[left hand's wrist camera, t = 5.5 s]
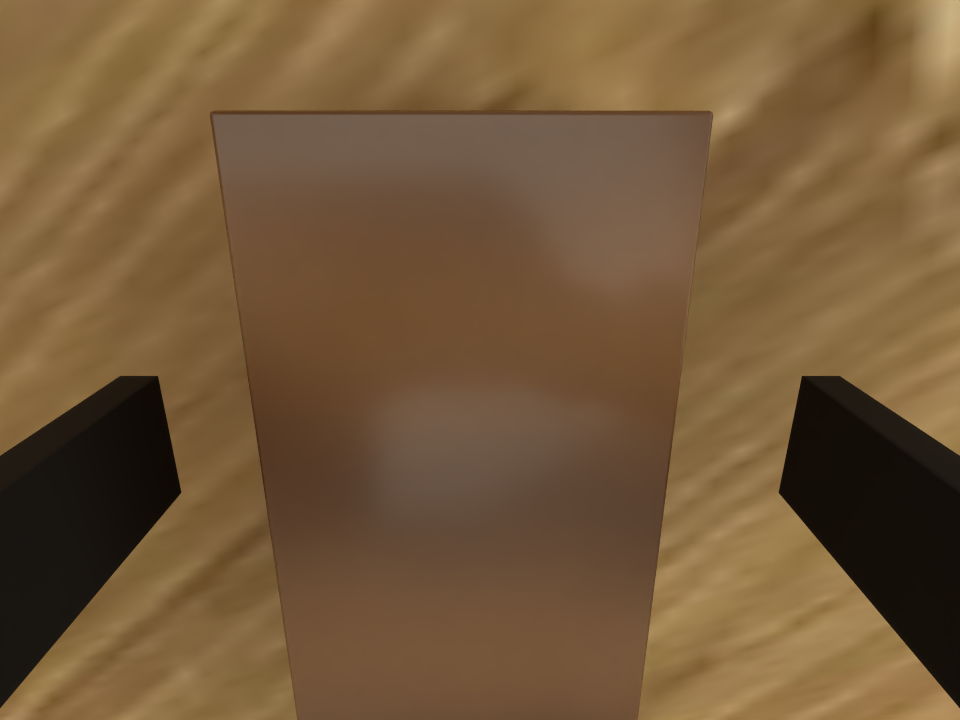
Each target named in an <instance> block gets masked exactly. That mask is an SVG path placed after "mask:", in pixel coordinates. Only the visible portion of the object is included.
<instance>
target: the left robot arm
mask: <svg viewBox="0 0 960 720" xmlns="http://www.w3.org/2000/svg"><path fill="white" fill-rule="evenodd" d="M180 494H181V489H180V484H179V479H178V474H177V469H176V464H175V459H174V454H173V449H172V444H171V439H170V434H169V429H168V424H167V419H166V414H165V409H164V404H163V399H162V394H161V389H160V384H159V379H158V376H120V377H118V378H117V379H115V380H114V381H112V382H111V383H109V384H108V385H106V386H105V387H103V388H102V389H100V390H99V391H97V392H96V393H94V394H93V395H91V396H90V397H88V398H87V399H85V400H84V401H82V402H81V403H79V404H78V405H76V406H75V407H73V408H72V409H70V410H69V411H67V412H66V413H64V414H63V415H61V416H60V417H58V418H57V419H55V420H54V421H52V422H50V423H49V424H47V425H46V426H44V427H43V428H41V429H40V430H38V431H37V432H35V433H34V434H32V435H31V436H29V437H28V438H26V439H25V440H23V441H22V442H20V443H19V444H17V445H16V446H14V447H13V448H11V449H10V450H8V451H7V452H5V453H4V454H2V455H1V456H0V708H1V707H2V705H3V704H4V703H5V702H6V701H7V699H8V698H9V697H10V696H11V695H12V693H13V692H14V691H15V690H16V689H17V688H18V686H19V685H20V684H21V683H22V682H23V680H24V679H25V678H26V677H27V676H28V674H29V673H30V672H31V671H32V670H33V668H34V667H35V666H36V665H37V664H38V663H39V661H40V660H41V659H42V658H43V657H44V655H45V654H46V653H47V652H48V651H49V649H50V648H51V647H52V646H53V645H54V643H55V642H56V641H57V640H58V639H59V638H60V636H61V635H62V634H63V633H64V632H65V630H66V629H67V628H68V627H69V626H70V624H71V623H72V622H73V621H74V620H75V619H76V617H77V616H78V615H79V614H80V613H81V611H82V610H83V609H84V608H85V607H86V605H87V604H88V603H89V602H90V601H91V599H92V598H93V597H94V596H95V595H96V594H97V592H98V591H99V590H100V589H101V588H102V586H103V585H104V584H105V583H106V582H107V580H108V579H109V578H110V577H111V576H112V574H113V573H114V572H115V571H116V570H117V569H118V567H119V566H120V565H121V564H122V563H123V561H124V560H125V559H126V558H127V557H128V555H129V554H130V553H131V552H132V551H133V549H134V548H135V547H136V546H137V545H138V544H139V542H140V541H141V540H142V539H143V538H144V536H145V535H146V534H147V533H148V532H149V530H150V529H151V528H152V527H153V526H154V524H155V523H156V522H157V521H158V520H159V519H160V517H161V516H162V515H163V514H164V513H165V511H166V510H167V509H168V508H169V507H170V505H171V504H172V503H173V502H174V501H175V500H176V498H177V497H178V496H179V495H180ZM779 494H780V495H781V496H782V497H783V498H784V500H785V501H786V502H787V503H788V504H789V505H790V507H791V508H792V509H793V510H794V511H795V513H796V514H797V515H798V516H799V517H800V519H801V520H802V521H803V522H804V523H805V524H806V526H807V527H808V528H809V529H810V530H811V532H812V533H813V534H814V535H815V536H816V538H817V539H818V540H819V541H820V542H821V544H822V545H823V546H824V547H825V548H826V549H827V551H828V552H829V553H830V554H831V555H832V557H833V558H834V559H835V560H836V561H837V563H838V564H839V565H840V566H841V567H842V569H843V570H844V571H845V572H846V573H847V574H848V576H849V577H850V578H851V579H852V580H853V582H854V583H855V584H856V585H857V586H858V588H859V589H860V590H861V591H862V592H863V594H864V595H865V596H866V597H867V598H868V599H869V601H870V602H871V603H872V604H873V605H874V607H875V608H876V609H877V610H878V611H879V613H880V614H881V615H882V616H883V617H884V619H885V620H886V621H887V622H888V623H889V624H890V626H891V627H892V628H893V629H894V630H895V632H896V633H897V634H898V635H899V636H900V638H901V639H902V640H903V641H904V642H905V643H906V645H907V646H908V647H909V648H910V649H911V651H912V652H913V653H914V654H915V655H916V657H917V658H918V659H919V660H920V661H921V663H922V664H923V665H924V666H925V667H926V668H927V670H928V671H929V672H930V673H931V674H932V676H933V677H934V678H935V679H936V680H937V682H938V683H939V684H940V685H941V686H942V688H943V689H944V690H945V691H946V692H947V693H948V695H949V696H950V697H951V698H952V699H953V701H954V702H955V703H956V704H957V705H958V707H959V708H960V456H959V455H958V454H956V453H955V452H953V451H952V450H950V449H949V448H947V447H946V446H944V445H943V444H941V443H940V442H938V441H937V440H935V439H934V438H932V437H931V436H929V435H928V434H926V433H925V432H923V431H922V430H920V429H919V428H917V427H916V426H914V425H913V424H911V423H910V422H908V421H907V420H905V419H903V418H902V417H900V416H899V415H897V414H896V413H894V412H893V411H891V410H890V409H888V408H887V407H885V406H884V405H882V404H881V403H879V402H878V401H876V400H875V399H873V398H872V397H870V396H869V395H867V394H866V393H864V392H863V391H861V390H860V389H858V388H857V387H855V386H854V385H852V384H851V383H849V382H848V381H846V380H845V379H843V378H842V377H840V376H802V379H801V384H800V389H799V394H798V399H797V404H796V409H795V414H794V419H793V424H792V429H791V434H790V439H789V444H788V449H787V454H786V459H785V464H784V469H783V474H782V479H781V484H780V489H779Z"/></svg>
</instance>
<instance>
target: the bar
mask: <svg viewBox="0 0 960 720" xmlns="http://www.w3.org/2000/svg"><path fill="white" fill-rule="evenodd" d="M210 118H211V125H212V132H213V139H214V146H215V153H216V160H217V166H218V173H219V180H220V187H221V194H222V201H223V208H224V215H225V222H226V229H227V236H228V242H229V249H230V256H231V263H232V270H233V277H234V284H235V291H236V298H237V305H238V312H239V318H240V325H241V332H242V339H243V346H244V353H245V360H246V367H247V374H248V381H249V388H250V394H251V401H252V408H253V415H254V422H255V429H256V436H257V443H258V450H259V457H260V464H261V470H262V477H263V484H264V491H265V498H266V505H267V512H268V519H269V526H270V533H271V540H272V546H273V553H274V560H275V567H276V574H277V581H278V588H279V595H280V602H281V609H282V616H283V622H284V629H285V636H286V643H287V650H288V657H289V664H290V671H291V678H292V685H293V692H294V699H295V705H296V712H297V719H298V720H638V712H639V704H640V696H641V688H642V680H643V672H644V664H645V656H646V648H647V640H648V632H649V624H650V616H651V608H652V600H653V592H654V584H655V576H656V568H657V560H658V552H659V544H660V536H661V528H662V520H663V512H664V504H665V496H666V488H667V480H668V472H669V464H670V456H671V448H672V440H673V432H674V424H675V416H676V408H677V400H678V392H679V384H680V376H681V368H682V360H683V352H684V344H685V336H686V328H687V320H688V312H689V304H690V296H691V288H692V280H693V272H694V264H695V256H696V248H697V240H698V232H699V224H700V216H701V208H702V200H703V192H704V184H705V176H706V168H707V160H708V152H709V144H710V136H711V128H712V120H713V114H712V112H710V111H212V112H211V113H210Z"/></svg>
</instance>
